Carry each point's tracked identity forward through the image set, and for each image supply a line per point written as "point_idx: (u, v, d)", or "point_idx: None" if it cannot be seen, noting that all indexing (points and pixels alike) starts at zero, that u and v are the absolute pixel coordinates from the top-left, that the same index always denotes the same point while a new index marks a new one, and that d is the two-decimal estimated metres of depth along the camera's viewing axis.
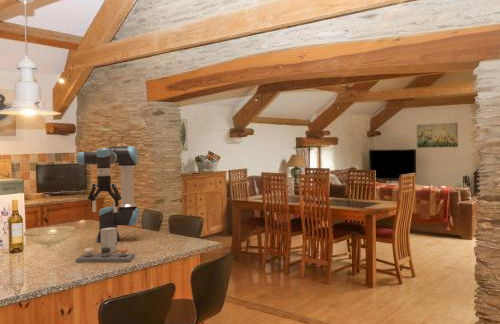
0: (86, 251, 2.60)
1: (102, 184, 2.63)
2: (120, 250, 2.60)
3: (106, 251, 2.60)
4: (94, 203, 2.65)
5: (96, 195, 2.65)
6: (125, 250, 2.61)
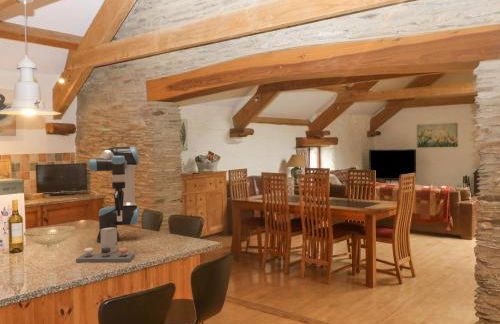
0: (86, 251, 2.60)
1: None
2: (120, 250, 2.60)
3: (106, 251, 2.60)
4: None
5: None
6: (125, 250, 2.61)
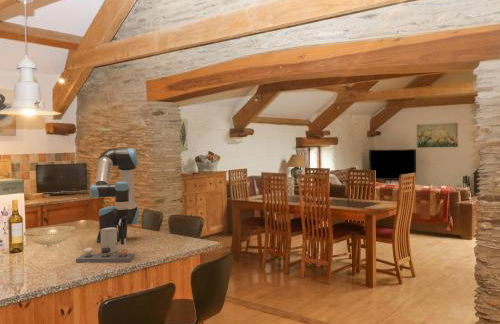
0: (86, 251, 2.60)
1: None
2: (120, 252, 2.60)
3: (106, 251, 2.60)
4: None
5: None
6: (125, 252, 2.61)
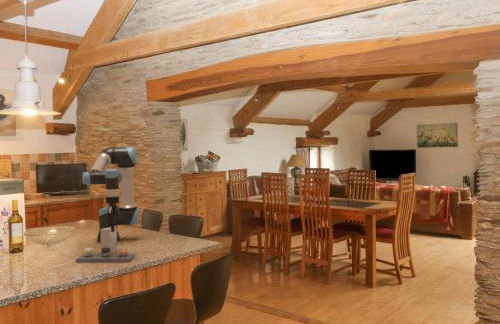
0: (86, 251, 2.60)
1: None
2: (120, 252, 2.60)
3: (106, 251, 2.60)
4: None
5: None
6: (125, 252, 2.61)
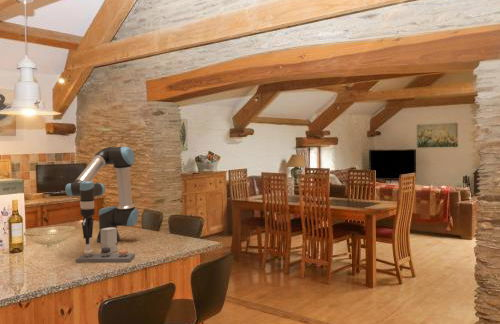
0: (86, 252, 2.60)
1: None
2: (120, 252, 2.60)
3: (106, 251, 2.60)
4: None
5: None
6: (125, 252, 2.61)
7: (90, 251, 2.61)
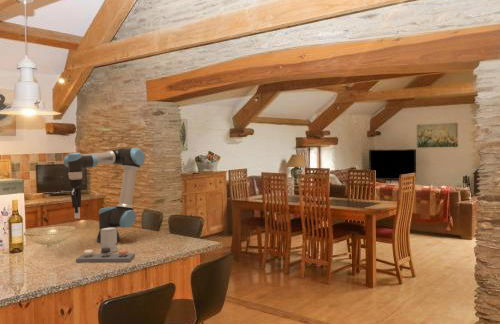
0: (86, 253, 2.60)
1: None
2: (120, 252, 2.60)
3: (106, 251, 2.60)
4: None
5: None
6: (125, 252, 2.61)
7: (90, 252, 2.61)
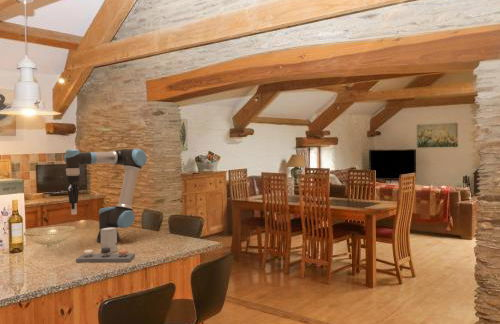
0: (86, 253, 2.60)
1: None
2: (120, 252, 2.60)
3: (106, 251, 2.60)
4: None
5: None
6: (125, 252, 2.61)
7: (90, 252, 2.61)
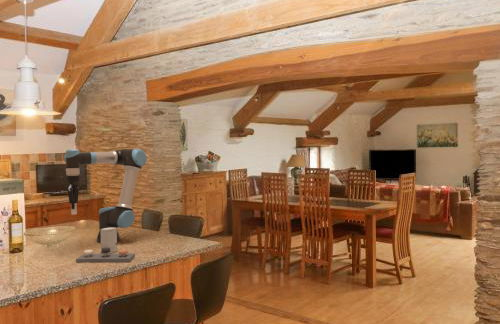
0: (86, 253, 2.60)
1: None
2: (120, 252, 2.60)
3: (106, 251, 2.60)
4: None
5: None
6: (125, 252, 2.61)
7: (90, 252, 2.61)
